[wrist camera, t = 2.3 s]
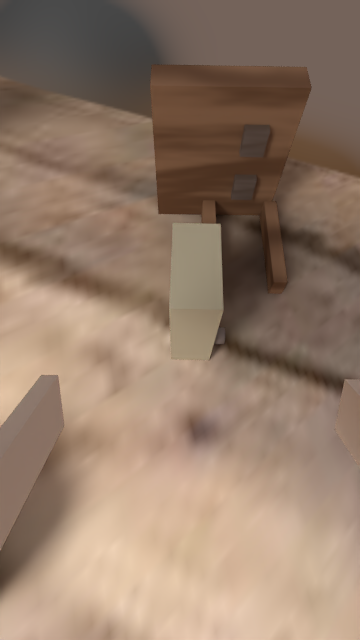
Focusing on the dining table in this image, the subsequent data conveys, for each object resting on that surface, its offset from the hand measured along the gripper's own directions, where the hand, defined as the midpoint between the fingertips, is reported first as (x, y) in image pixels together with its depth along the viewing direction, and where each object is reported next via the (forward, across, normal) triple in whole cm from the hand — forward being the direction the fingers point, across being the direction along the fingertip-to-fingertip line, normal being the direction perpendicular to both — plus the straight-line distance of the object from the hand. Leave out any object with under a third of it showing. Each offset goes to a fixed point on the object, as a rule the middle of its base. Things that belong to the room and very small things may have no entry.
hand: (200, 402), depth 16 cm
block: (+22, 0, -4) cm, 22 cm away
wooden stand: (+30, +3, +4) cm, 30 cm away
